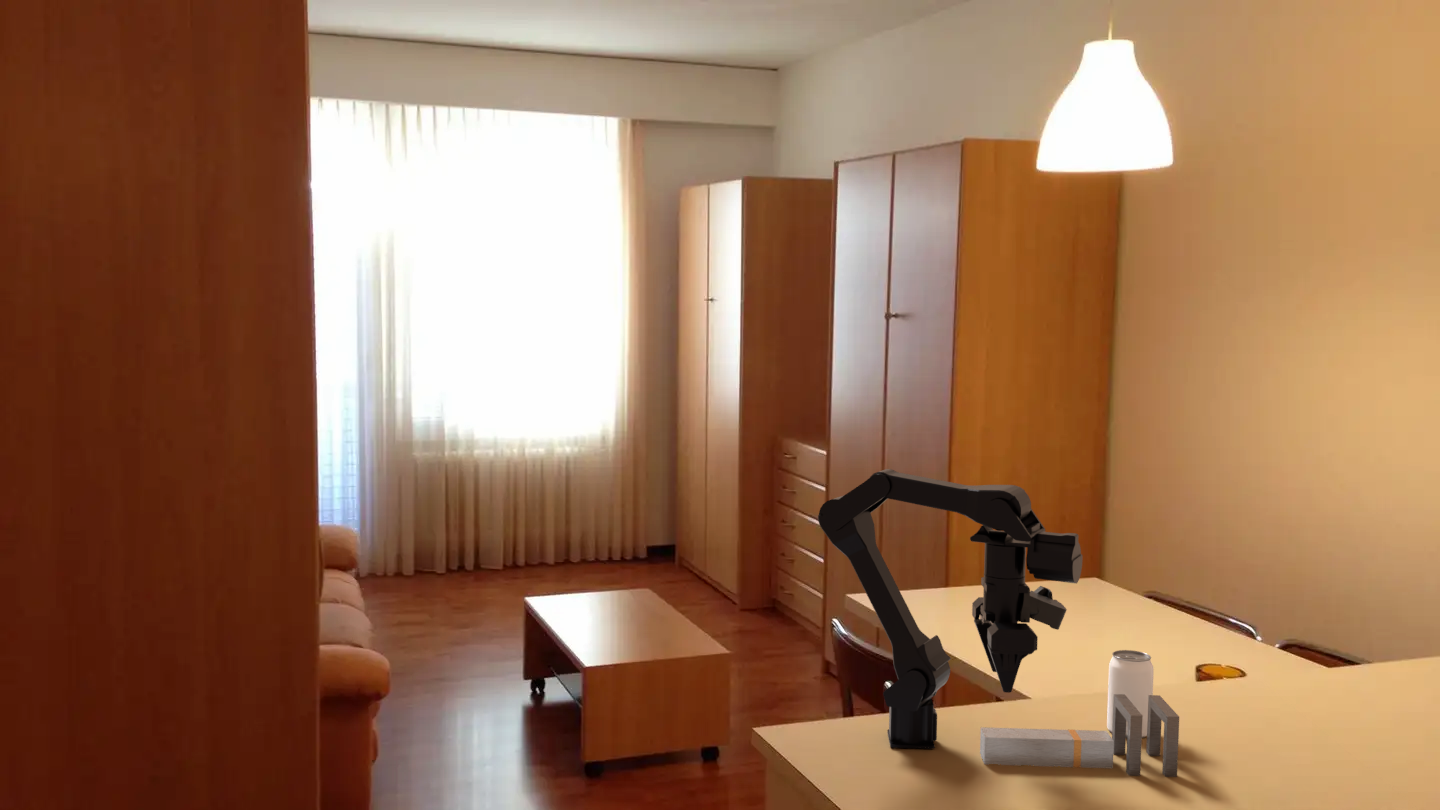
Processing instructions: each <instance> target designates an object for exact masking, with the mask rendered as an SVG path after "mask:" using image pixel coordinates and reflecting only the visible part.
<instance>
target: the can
mask: <svg viewBox="0 0 1440 810" xmlns="http://www.w3.org/2000/svg"><path fill="white" fill-rule="evenodd" d="M1151 659H1152V657H1151V655H1150V654H1148V653H1145V652H1142V651H1138V650H1131V649H1130V650H1129V649H1120V650H1115V651H1113V652H1112V657H1111V659H1110V661H1109V664H1108V685H1107V711H1106V713H1107V714H1106V715H1107V716H1106V717H1107V718H1106V727H1107V730H1108V731H1109V732H1110V733H1111V734H1112V726H1113V698H1114V694H1125V695H1126V697H1127V698H1128V699H1129V700H1130V701H1131V703H1132V704H1133V705H1134V706H1135V707H1136V708H1137V710H1138V711H1139V712H1140V713H1141V714H1142V716H1143V717H1142V739H1144V738H1147V737H1146V736H1147V721H1148V695H1154V694H1153V693H1154V670H1155V669H1154V665H1153V663H1152V661H1151ZM1127 731H1128V721H1127V720H1126V739H1127Z"/></svg>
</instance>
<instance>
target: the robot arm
mask: <svg viewBox="0 0 1440 810" xmlns="http://www.w3.org/2000/svg"><path fill="white" fill-rule="evenodd" d="M888 499H889V500H894V501H899V502H902V503H903V502H904V503H908V504H912V505H913V504H914V505H919V506H922V507H929V508H932V509H933V508H934V509H936V510H937V509H938V510H943V511H948V512H952V513H957V514H960V515H963V516H965V517H967V518H968V519H969V520H972V521H973V522H975V523H977V524H979V525H981V526H980V527H979V529H978V530H977V531H976V532H975V533H974V534H973V535H971V536H970V537H969V540H970V541H971V542H973V543H981V544H982V543H983V544H984V562H983V563H984V567H983V577H981V581H980V582H981V586H982V588H983V592H982V593H983V596H982V597H981V596H980V597H979V596H978V597H977V598H976V599H975V600H974V601H973V602H972V606H971V608H972V609H971V611H972V612H971V613H972V614H971V615H972V617H973V623H974V625H975V627H976V630H977V633H978V635H979V638H980V641H981V643H982V646H983V649H984V652H985V654H986V656H987V657H986V658H987V660H988V662H989V665H990V669H991V671H992V672H993V673H996V675H997V677H998V680H999V683H1000V686H1001V689H1002V691H1003V693H1005V694H1006V693H1008V694H1009V693H1012V691H1013V688H1014V686H1015V681H1016V678H1017V676H1018V671H1019V669H1020V667H1021V666H1020V665H1021V663H1022V661H1023V659H1024V658H1026V657H1027V656H1029V655H1032V654H1034V652H1036V651H1038V635H1037V634H1036V632H1035V631H1034V630H1033V629H1032V628H1031V627H1030V626H1029V625H1028V624H1027V623H1031V622H1030V621H1031V620H1034V621H1037V622H1039V623H1042V624H1044V625H1047V626H1049V627H1050V628H1051V629H1053V630H1059V629H1060V628H1061V625H1062V622H1063V621H1064V617H1065V614H1066V613H1067V610H1068V609H1067V608H1066V606H1064V604H1063V603H1061V602H1060V601H1059V600H1057V599H1053V598H1054V597H1053V591H1051V589H1049V588H1048V587H1045V586H1043V585H1040V586H1039V587H1037V588H1036V589H1035V590H1031V588H1030V586H1029V585H1028V584H1027V583H1026V569H1027V571H1028V573H1029V575H1030V574H1031V575H1033V577H1034V579H1035V580H1036V579H1037V580H1045V581H1053V582H1061V583H1068V584H1078V583H1079V581H1080V577H1081V575H1082V568H1083V557H1084V556H1083V554H1082V549H1081V544H1080V543H1079V537H1080V535H1079V534H1078V533H1073V532H1066V533H1061V532H1060V533H1059V532H1052V531H1046V528H1045V526H1044V525H1043V523H1042V522H1041V520H1040V519H1039V517H1038V516H1037V515H1036V513H1035V512H1034V510H1033V509H1032V502H1031V498H1030V496H1029V495H1028V493H1027V492H1026V491H1025V489H1024V488H1022V487H1021V486H1018V485H1015V484H1014V485H1013V484H984V485H983V484H981V485H967V484H962V483H957V482H951V481H946V480H942V479H941V480H940V479H934V478H931V477H930V478H929V477H926V476H920V475H914V474H909V473H904V472H899V471H896V470H894V469H891V468H885V469H883V470H880V471H879V470H878V471H877V472H874V473H872V475H870V476H869V478H867V479H866V480H865V481H864V482H862V483H861V484H859V485H858V486H856V487H854V488H853V489H851V490H850V491H849V492H847V493H846V494H844V495H841V496H838V497H835V498H832V499H828V500H826V501H825V502H824V503H823V504H822V505H821V507H820V509H819V511H818V512H819V513H818V515H817V522H818V525H819V527H820V529H821V530H822V531H823V533H824V534H825V535H826V537H827V539H828V540H829V541H830V542H831V544H832V545H833V546H834V547H835V548H836V549H837V550H839V551H840V553H842V554H843V555H844V556H846V558H847V559H848V561H849V562H850V564H851V566H852V568H853V570H854V572H855V574H856V576H857V579H858V580H859V582H860V584H861V586H862V588H863V590H864V591H865V593H866V596H867V598H868V600H869V602H870V604H871V606H872V609H873V610H874V612H875V613H876V617H877V618H878V620H879V621H880V624H881V626H882V627H883V630H884V631H885V633H886V636H887V638H888V640H889V641H890V645H891V649H892V650H891V651H892V662H893V663H892V664H893V669H894V671H895V675H896V677H897V680H896V681H895V682H894V683H892V684H891V685H890V686H889V687H888V688H886V689H885V690H884V691H883V693H882V695H883V698H884V701H885V705H886V706H887V708H889V709H888V712H889V713H888V714H889V716H888V721H889V722H888V725H889V726H888V729H887V730H886V731H887V732H886V733H887V738H888V743H889V747H890V748H896V749H897V748H900V749H931V750H932V749H935V742H936V741H937V737H938V712H937V710H936V708H934V703H933V699H932V698H933V697H935V696H936V695H937V692H938V690H939V689H941V688H942V687H943V686H945V684H947V682H948V680H949V679H950V678H949V677H950V674H951V666H950V663H949V661H950V660H951V659H952V658H951V656H950V655H949V654H947V653H946V651H945V648H944V647H943V645H942V641H941V638H940V637H939V636H938V635H937V634H936V635H934V636H933V637H931V638H929V637H928V636H927V635H926V634H925V633H924V632H923V631H922V630H921V629H920V627H918V624H917V623H916V620H915V618H914V616H913V614H912V613H911V610H910V608H909V606H908V605H907V603H906V600H905V598H904V597H903V595H902V593H901V591H900V588H899V587H898V585H897V583H896V581H895V579H894V577H893V575H892V573H891V571H890V568H889V567H888V565H887V563H886V562H885V559H884V557H883V556H882V553H881V551H880V549H879V548H878V545H877V542H876V541H877V540H876V531H875V528H876V527H875V523H874V520H873V517H872V514H871V513H873V512H874V511H875V510H876V509H878V508H880V506H882V505H883V504H884V503H885V502H886V501H888ZM1030 619H1031V620H1030ZM1019 622H1020V623H1019Z"/></svg>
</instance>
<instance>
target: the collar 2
mask: <svg viewBox="0 0 1440 810" xmlns="http://www.w3.org/2000/svg"><path fill="white" fill-rule="evenodd" d="M1162 722H1163V725H1164V726H1163V744H1162V745H1163V746H1162V767H1161V768H1162V769H1161V771H1162V775H1163V776H1164V777H1166V778H1169V777H1171V778H1177V777H1178V761H1179V759H1178V758H1179V738H1180V736H1179V735H1180V734H1179V733H1180V731H1179V730H1180V716H1179V715H1178V713H1177V712H1176V711H1175V710H1174V709H1173V708H1172V707H1171V706H1170V705H1169V703H1167V702H1166V701H1165V699H1164V698H1162V696H1161V695H1160V694H1159V695H1157V694H1153V695H1148V721H1147V737H1146V751H1145V752H1146V754H1147V755H1148V756H1149V755H1150V756H1152V757H1153V756H1154V757H1157V756H1158V757H1161V741H1162ZM1150 756H1149V757H1150Z"/></svg>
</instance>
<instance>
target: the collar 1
mask: <svg viewBox="0 0 1440 810" xmlns="http://www.w3.org/2000/svg"><path fill="white" fill-rule="evenodd" d="M1142 717H1143V716H1142V714H1141V713H1140V712H1139V711H1138V710H1137V708H1136V707H1135V706H1134V705H1133V704H1132V703H1131V701H1130V700H1129V699H1128V698H1127V697H1126V695H1125V694H1114V698H1113V726H1112V733H1111V738H1112V739H1113V741H1114V749H1113V756H1114V755H1117V756H1118V755H1119V756H1120V755H1121V756H1123V755H1124V756H1125V755H1126V761H1125V764H1126V765H1125V772H1126V774H1127V776H1136V777H1137V776H1139V777H1140V776H1141V767H1142V766H1141V765H1142V763H1141V762H1142V744H1143V743H1142V742H1143V741H1142V739H1143V738H1142ZM1126 720H1127V721H1128V731H1127V738H1126Z"/></svg>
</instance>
